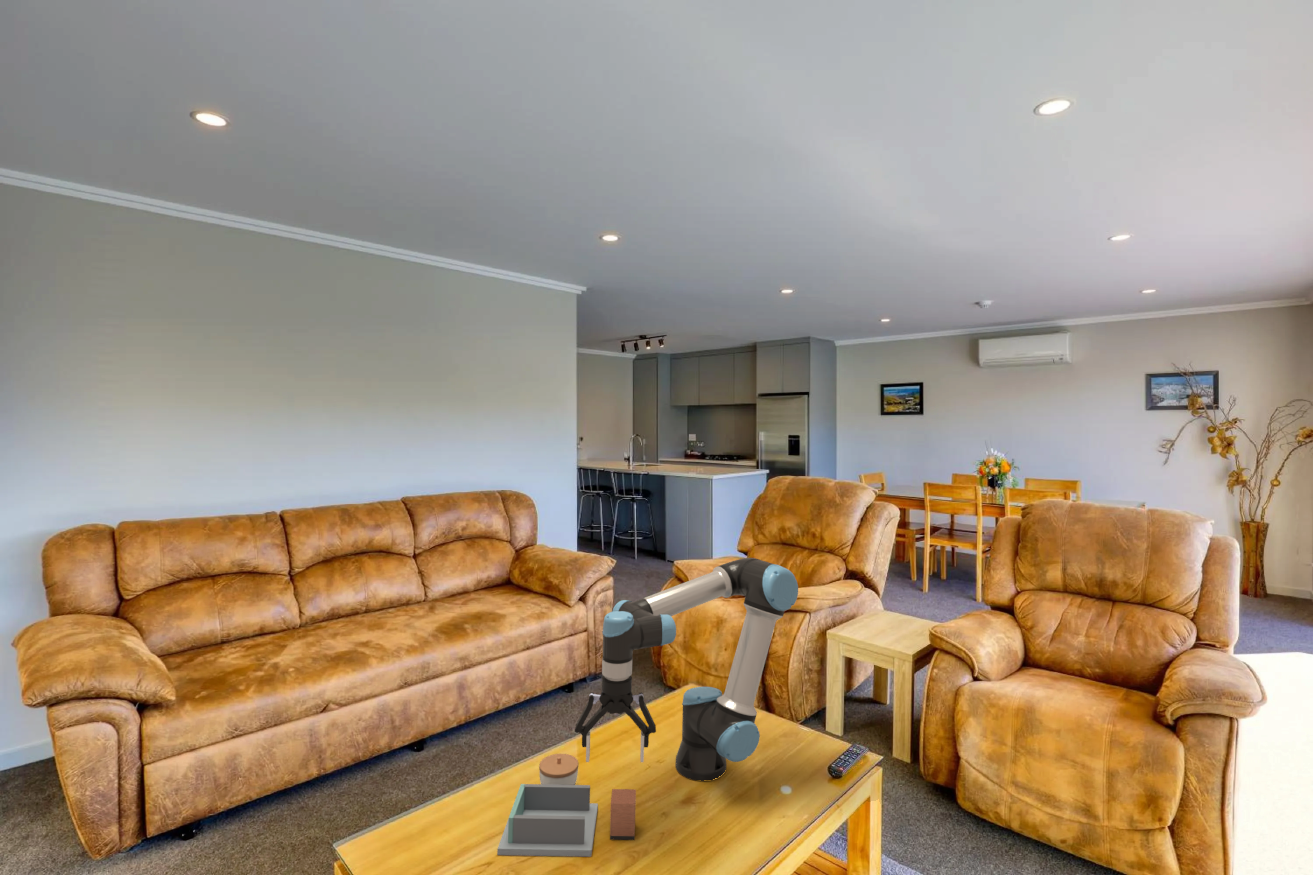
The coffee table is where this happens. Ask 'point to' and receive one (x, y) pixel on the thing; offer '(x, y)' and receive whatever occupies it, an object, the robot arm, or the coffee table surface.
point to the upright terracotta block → (622, 814)
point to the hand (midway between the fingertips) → (614, 759)
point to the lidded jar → (559, 769)
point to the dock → (550, 822)
